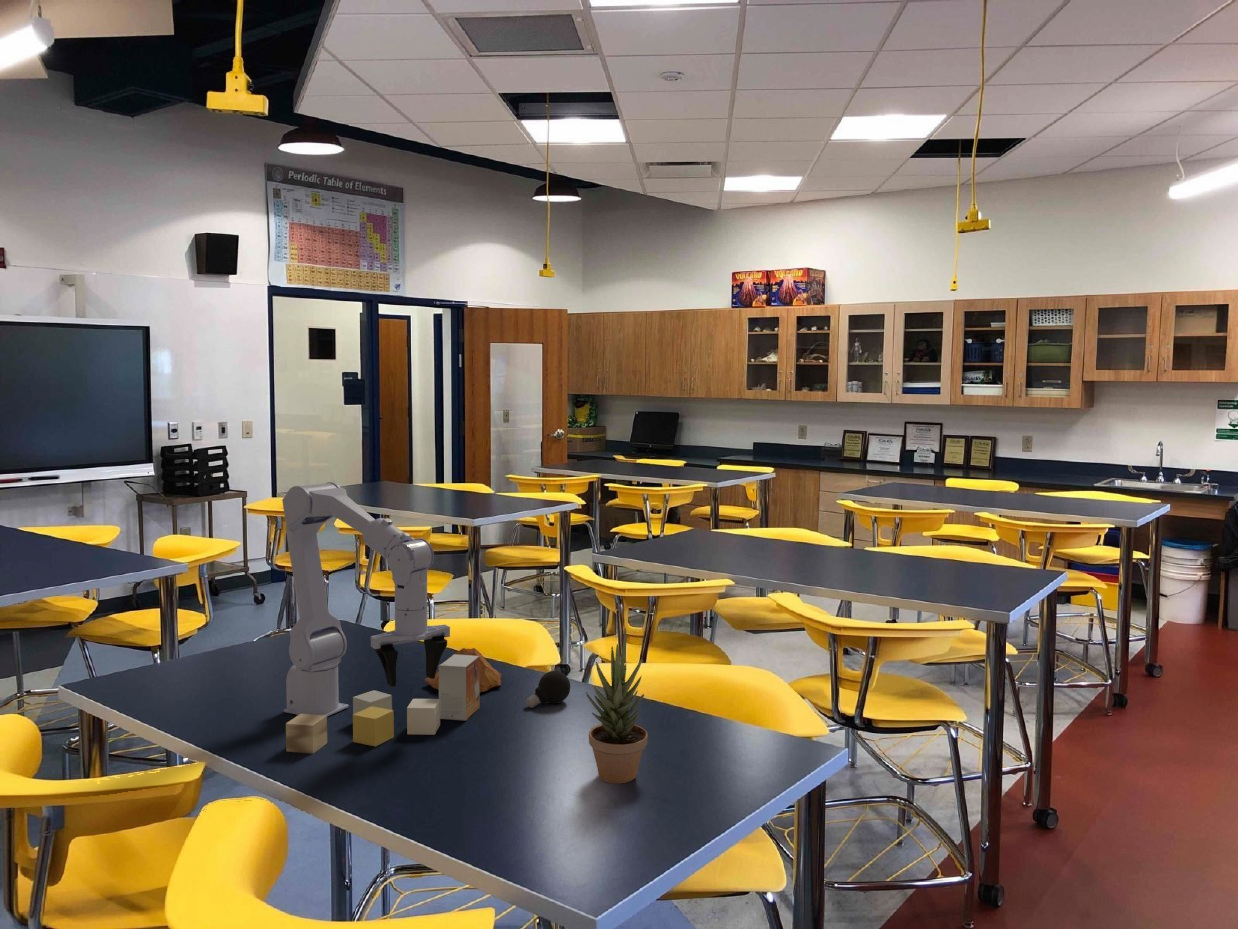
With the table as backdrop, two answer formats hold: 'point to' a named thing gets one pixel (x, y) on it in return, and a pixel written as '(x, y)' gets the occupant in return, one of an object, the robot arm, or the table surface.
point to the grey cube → (372, 701)
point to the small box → (459, 687)
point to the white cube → (423, 716)
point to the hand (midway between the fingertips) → (411, 681)
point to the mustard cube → (373, 726)
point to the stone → (487, 673)
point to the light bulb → (550, 689)
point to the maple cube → (306, 733)
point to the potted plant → (617, 724)
